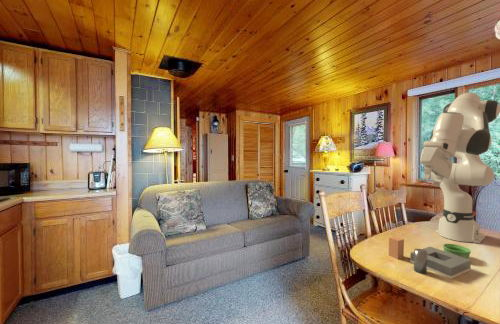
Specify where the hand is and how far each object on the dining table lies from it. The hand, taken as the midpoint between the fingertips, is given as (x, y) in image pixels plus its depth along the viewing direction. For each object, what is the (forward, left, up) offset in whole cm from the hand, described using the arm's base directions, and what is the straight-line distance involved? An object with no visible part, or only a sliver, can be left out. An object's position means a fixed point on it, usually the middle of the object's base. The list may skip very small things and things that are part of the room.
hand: (431, 182), depth 93 cm
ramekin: (-18, +1, -34) cm, 38 cm away
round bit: (+8, +1, -34) cm, 35 cm away
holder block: (-3, +2, -34) cm, 34 cm away
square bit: (+4, -11, -34) cm, 35 cm away
